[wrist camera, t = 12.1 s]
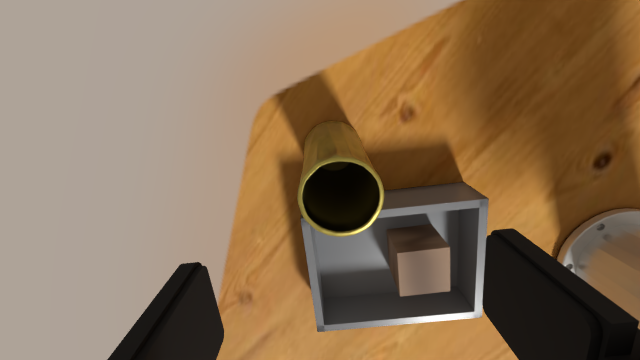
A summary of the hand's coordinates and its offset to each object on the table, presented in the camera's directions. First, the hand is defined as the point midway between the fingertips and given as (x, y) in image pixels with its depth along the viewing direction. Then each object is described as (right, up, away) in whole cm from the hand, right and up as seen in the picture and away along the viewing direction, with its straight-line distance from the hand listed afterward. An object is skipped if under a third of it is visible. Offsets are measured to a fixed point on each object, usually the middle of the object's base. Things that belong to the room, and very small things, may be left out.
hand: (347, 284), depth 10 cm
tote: (+7, -4, +25) cm, 26 cm away
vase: (0, +7, +22) cm, 23 cm away
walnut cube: (+9, -4, +24) cm, 26 cm away
